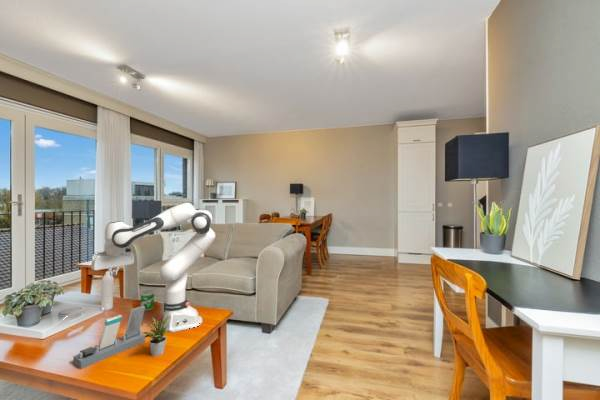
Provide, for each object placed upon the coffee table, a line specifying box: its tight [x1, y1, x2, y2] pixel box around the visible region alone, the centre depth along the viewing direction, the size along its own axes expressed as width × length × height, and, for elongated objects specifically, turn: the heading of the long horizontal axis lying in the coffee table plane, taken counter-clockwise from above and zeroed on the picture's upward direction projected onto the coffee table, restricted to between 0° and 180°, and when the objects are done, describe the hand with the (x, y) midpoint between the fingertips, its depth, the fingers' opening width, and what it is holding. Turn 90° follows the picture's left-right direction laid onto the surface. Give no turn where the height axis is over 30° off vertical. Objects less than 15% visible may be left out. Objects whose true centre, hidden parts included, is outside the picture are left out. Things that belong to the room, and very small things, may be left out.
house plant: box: [139, 316, 173, 357], centre depth 128 cm, size 14×14×16 cm
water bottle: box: [100, 269, 115, 311], centre depth 179 cm, size 9×6×25 cm
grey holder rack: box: [72, 328, 146, 370], centre depth 127 cm, size 27×8×5 cm, turn 149°
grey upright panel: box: [124, 305, 145, 339], centre depth 134 cm, size 6×2×16 cm, turn 149°
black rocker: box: [79, 346, 97, 355], centre depth 119 cm, size 4×6×1 cm, turn 59°
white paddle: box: [98, 314, 123, 349], centre depth 123 cm, size 6×2×16 cm, turn 149°
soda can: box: [140, 290, 155, 312], centre depth 178 cm, size 8×8×12 cm
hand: (113, 275), depth 148 cm, fingers closed
